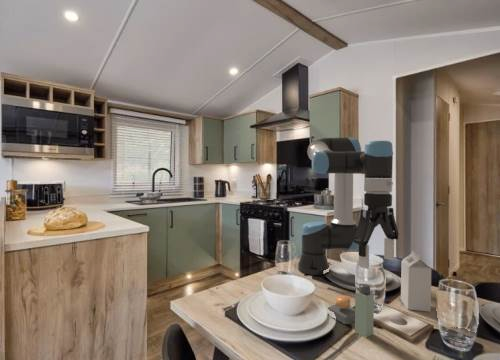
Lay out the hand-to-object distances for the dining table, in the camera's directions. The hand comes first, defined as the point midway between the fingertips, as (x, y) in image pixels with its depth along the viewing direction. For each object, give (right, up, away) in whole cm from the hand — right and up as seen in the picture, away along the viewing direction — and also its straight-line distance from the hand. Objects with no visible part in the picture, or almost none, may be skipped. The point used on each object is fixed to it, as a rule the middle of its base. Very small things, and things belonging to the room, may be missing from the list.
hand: (377, 263), depth 79 cm
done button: (-8, -16, +7) cm, 19 cm away
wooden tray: (+7, -20, +5) cm, 22 cm away
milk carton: (+21, -20, +15) cm, 32 cm away
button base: (-8, -20, +7) cm, 22 cm away
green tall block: (-5, -20, -2) cm, 21 cm away
